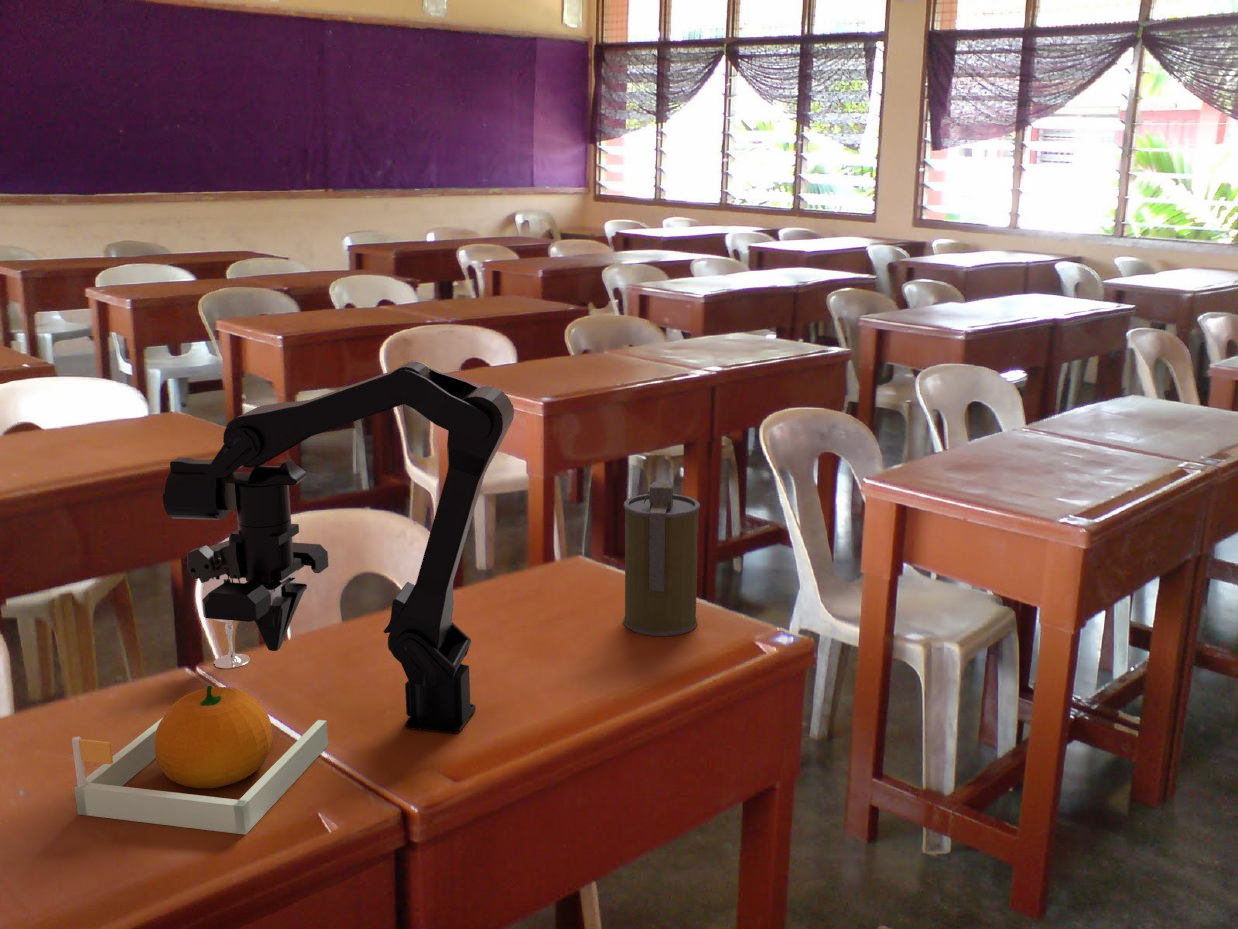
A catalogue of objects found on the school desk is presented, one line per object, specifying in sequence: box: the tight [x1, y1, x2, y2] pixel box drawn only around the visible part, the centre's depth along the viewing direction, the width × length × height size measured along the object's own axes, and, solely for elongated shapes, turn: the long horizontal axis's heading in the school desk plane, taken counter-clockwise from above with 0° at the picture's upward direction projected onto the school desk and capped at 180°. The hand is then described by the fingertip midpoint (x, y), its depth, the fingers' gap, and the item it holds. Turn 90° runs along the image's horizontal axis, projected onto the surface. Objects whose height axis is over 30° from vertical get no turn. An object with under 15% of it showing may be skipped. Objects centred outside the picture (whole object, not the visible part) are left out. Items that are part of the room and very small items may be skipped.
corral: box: [71, 717, 329, 836], centre depth 120 cm, size 18×18×8 cm
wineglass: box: [201, 573, 251, 669], centre depth 148 cm, size 6×6×12 cm
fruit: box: [155, 685, 274, 789], centre depth 121 cm, size 12×12×10 cm
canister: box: [622, 480, 701, 637], centre depth 160 cm, size 11×10×20 cm
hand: (274, 649), depth 134 cm, fingers closed
